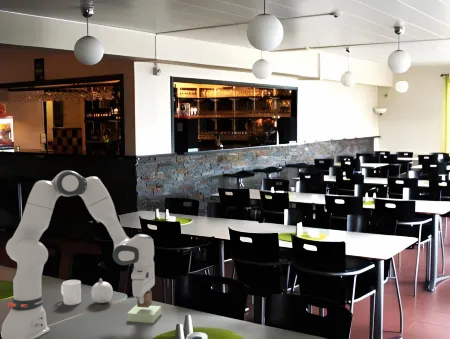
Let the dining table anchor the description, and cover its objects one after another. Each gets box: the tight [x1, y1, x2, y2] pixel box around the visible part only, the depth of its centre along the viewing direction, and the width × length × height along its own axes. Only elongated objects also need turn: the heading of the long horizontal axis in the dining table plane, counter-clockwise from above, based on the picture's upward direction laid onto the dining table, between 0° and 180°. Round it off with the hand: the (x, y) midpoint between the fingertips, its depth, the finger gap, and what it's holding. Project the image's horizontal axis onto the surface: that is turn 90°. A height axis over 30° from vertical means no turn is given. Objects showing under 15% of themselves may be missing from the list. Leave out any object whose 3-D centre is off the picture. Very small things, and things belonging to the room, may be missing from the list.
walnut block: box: [136, 290, 153, 308], centre depth 248 cm, size 5×5×6 cm
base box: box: [126, 304, 162, 324], centre depth 249 cm, size 12×12×4 cm
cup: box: [60, 279, 82, 306], centre depth 270 cm, size 8×12×10 cm
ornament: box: [90, 278, 114, 304], centre depth 269 cm, size 10×10×12 cm
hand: (144, 300), depth 249 cm, fingers closed on walnut block, 5 cm apart
